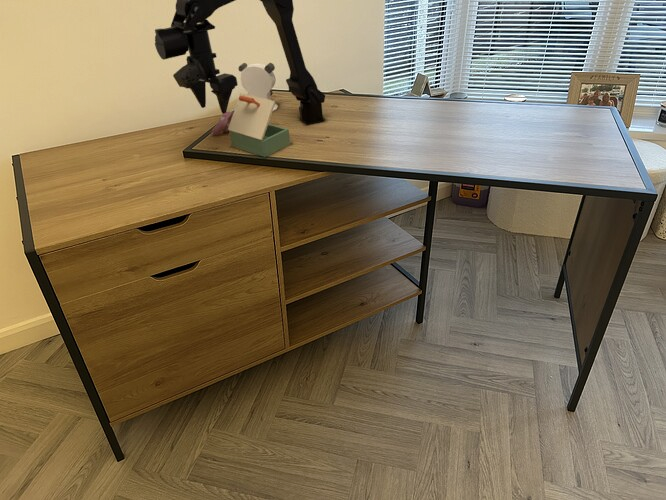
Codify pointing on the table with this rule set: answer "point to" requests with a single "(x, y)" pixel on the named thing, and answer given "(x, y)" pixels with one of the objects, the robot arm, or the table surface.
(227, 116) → the purple oblong lump
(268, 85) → the panda figurine
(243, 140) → the box
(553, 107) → the table surface
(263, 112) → the lid
